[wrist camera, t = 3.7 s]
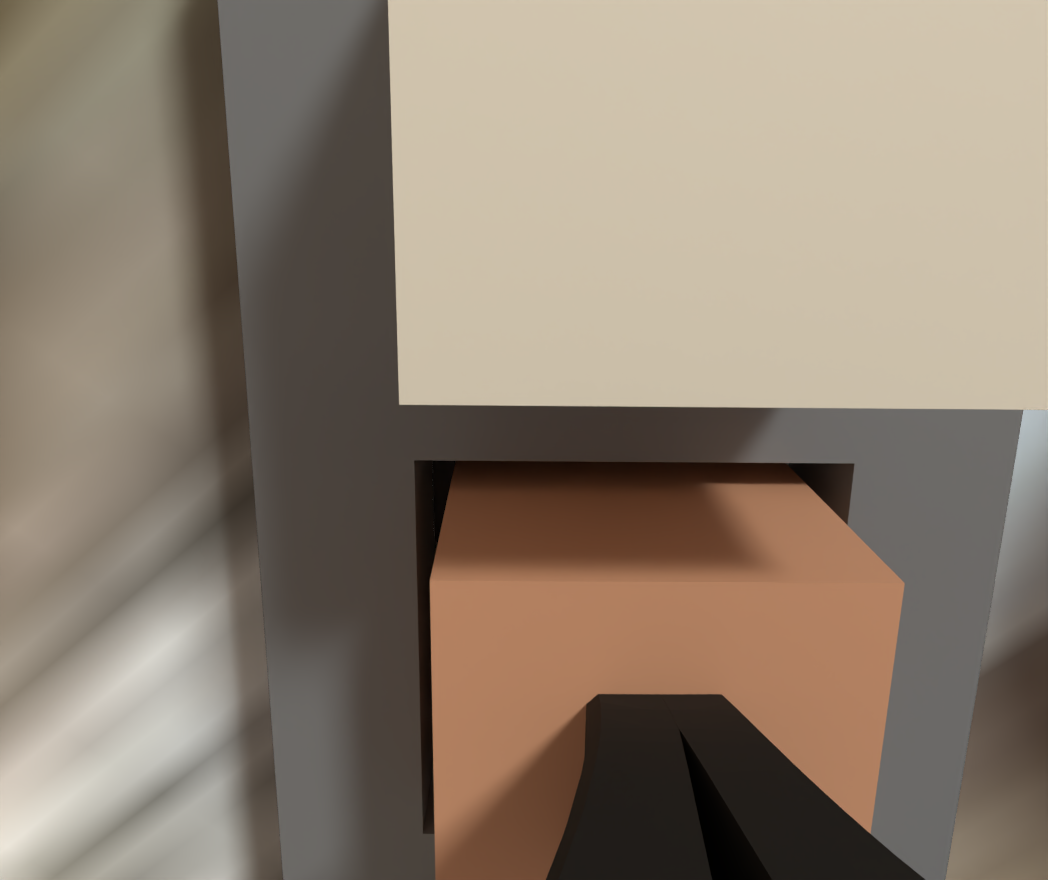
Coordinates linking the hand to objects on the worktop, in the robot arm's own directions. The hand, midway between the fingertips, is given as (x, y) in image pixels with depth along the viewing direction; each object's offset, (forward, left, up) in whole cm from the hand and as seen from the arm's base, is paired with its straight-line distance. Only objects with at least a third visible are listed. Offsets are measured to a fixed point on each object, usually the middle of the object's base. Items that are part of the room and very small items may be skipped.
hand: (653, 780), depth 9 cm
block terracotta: (0, 0, -4) cm, 4 cm away
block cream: (+7, 0, -2) cm, 7 cm away
